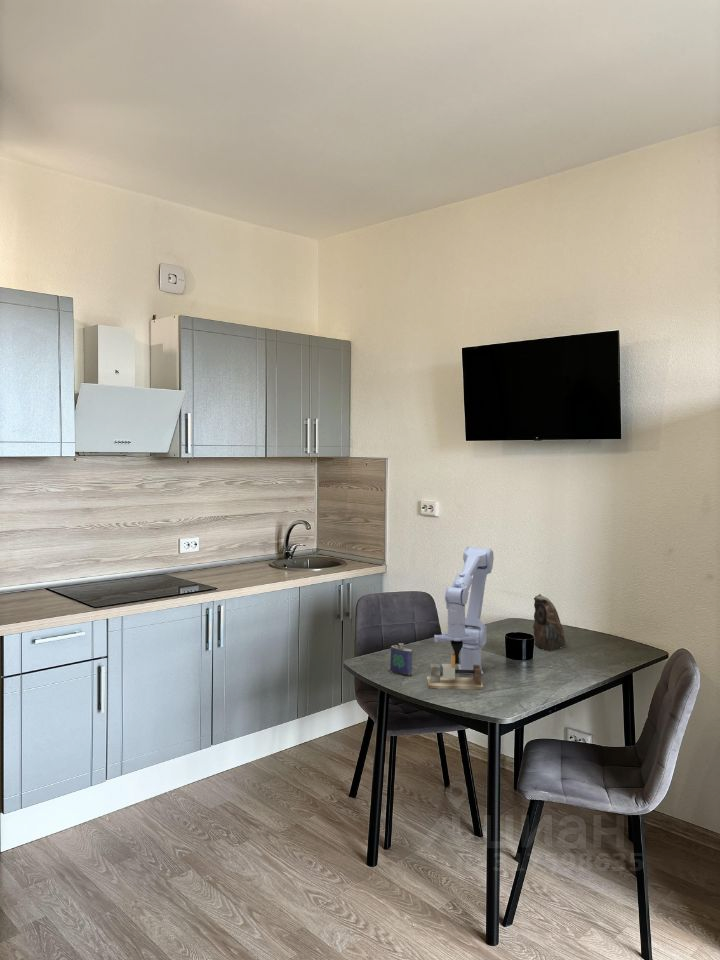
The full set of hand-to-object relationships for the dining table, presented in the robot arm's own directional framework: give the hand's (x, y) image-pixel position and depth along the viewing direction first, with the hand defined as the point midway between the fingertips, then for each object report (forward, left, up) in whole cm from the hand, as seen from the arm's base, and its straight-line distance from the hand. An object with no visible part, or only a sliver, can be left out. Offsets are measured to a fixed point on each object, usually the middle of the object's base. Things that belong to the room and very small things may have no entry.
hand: (456, 663), depth 245 cm
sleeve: (0, -3, -5) cm, 5 cm away
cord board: (0, 0, -7) cm, 7 cm away
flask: (-11, -18, -8) cm, 23 cm away
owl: (-49, +42, -8) cm, 65 cm away
